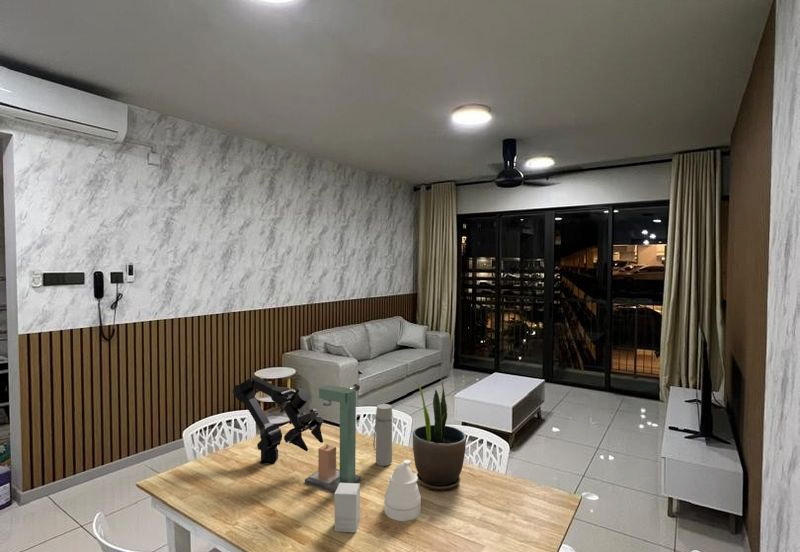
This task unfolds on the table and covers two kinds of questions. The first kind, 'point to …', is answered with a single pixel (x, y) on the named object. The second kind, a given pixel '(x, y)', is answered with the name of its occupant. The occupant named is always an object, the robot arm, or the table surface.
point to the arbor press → (341, 437)
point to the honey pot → (402, 494)
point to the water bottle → (383, 434)
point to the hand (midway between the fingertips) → (315, 446)
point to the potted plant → (438, 449)
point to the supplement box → (347, 507)
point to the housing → (327, 461)
